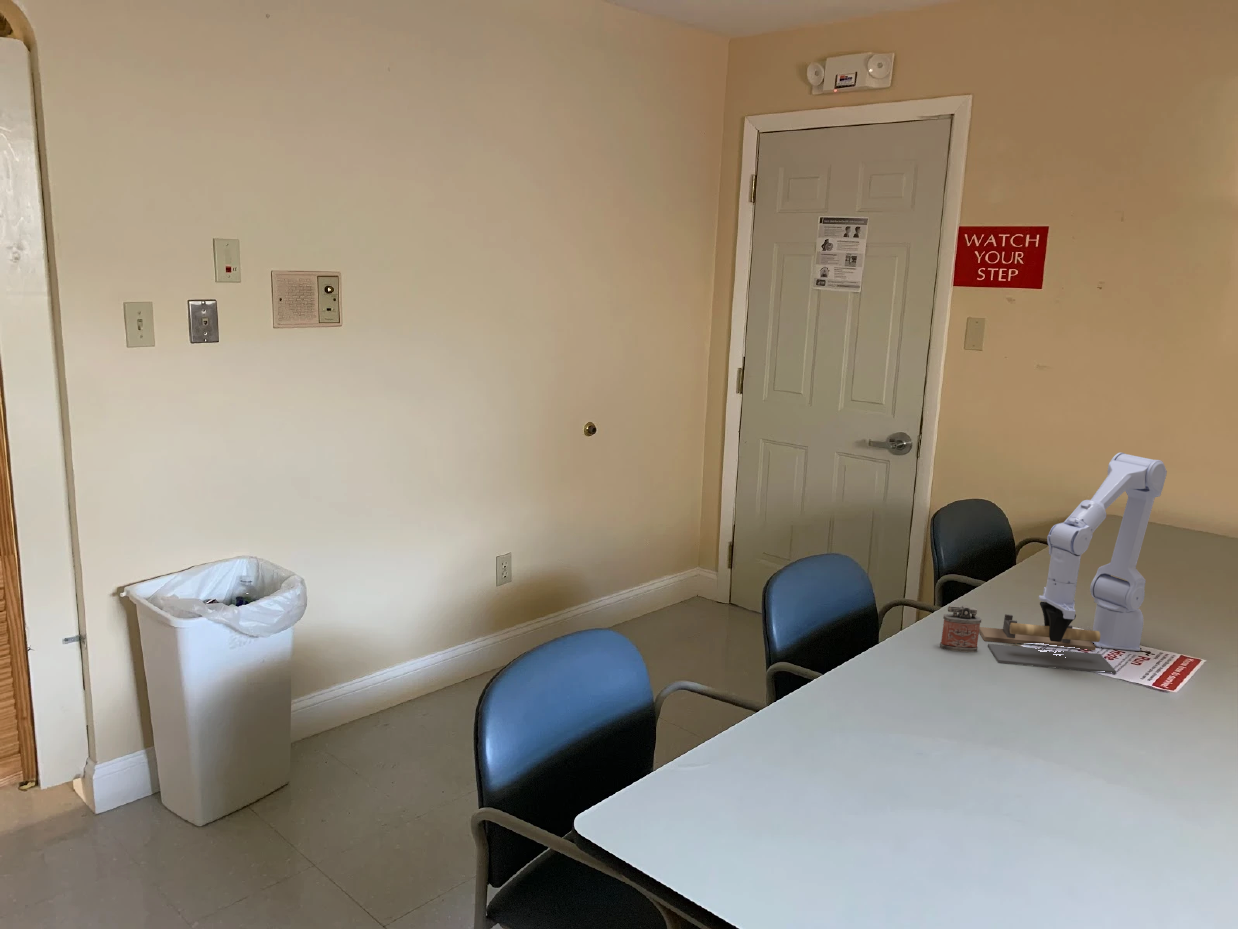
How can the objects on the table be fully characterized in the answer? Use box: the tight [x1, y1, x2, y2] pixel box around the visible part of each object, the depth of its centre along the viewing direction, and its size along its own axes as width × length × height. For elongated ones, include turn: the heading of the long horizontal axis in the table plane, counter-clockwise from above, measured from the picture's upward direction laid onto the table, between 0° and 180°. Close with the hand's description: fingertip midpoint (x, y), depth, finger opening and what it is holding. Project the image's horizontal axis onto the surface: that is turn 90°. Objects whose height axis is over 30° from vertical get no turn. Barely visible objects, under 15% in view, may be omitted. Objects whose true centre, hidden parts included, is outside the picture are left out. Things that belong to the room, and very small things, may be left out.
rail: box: [1010, 622, 1100, 643], centre depth 197 cm, size 18×2×2 cm, turn 82°
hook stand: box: [979, 614, 1097, 651], centre depth 208 cm, size 24×6×5 cm, turn 82°
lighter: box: [939, 604, 982, 653], centre depth 201 cm, size 8×3×10 cm, turn 84°
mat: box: [987, 643, 1117, 674], centre depth 198 cm, size 24×9×1 cm, turn 82°
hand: (1053, 638), depth 197 cm, fingers closed on rail, 2 cm apart
